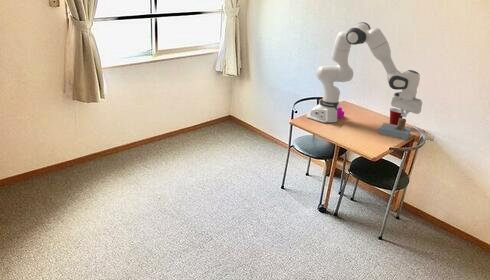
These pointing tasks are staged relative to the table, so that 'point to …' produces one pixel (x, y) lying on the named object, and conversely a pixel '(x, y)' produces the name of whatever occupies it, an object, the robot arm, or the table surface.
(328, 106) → the robot arm
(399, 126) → the walnut peg
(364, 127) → the table surface
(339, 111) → the toy block
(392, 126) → the socket board
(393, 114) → the plastic cup
